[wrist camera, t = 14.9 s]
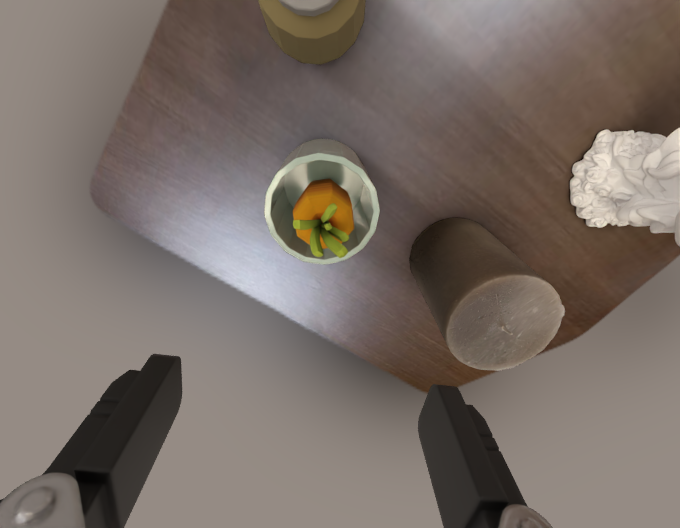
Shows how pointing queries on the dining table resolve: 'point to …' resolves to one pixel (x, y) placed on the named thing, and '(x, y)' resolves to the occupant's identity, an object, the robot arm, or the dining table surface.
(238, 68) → the dining table surface
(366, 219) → the tumbler
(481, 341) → the pillar candle
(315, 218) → the carrot
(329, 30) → the squeeze bottle
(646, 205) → the cherub figurine
